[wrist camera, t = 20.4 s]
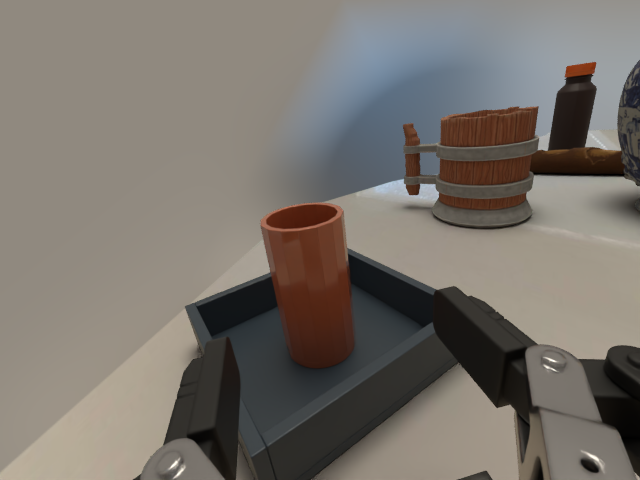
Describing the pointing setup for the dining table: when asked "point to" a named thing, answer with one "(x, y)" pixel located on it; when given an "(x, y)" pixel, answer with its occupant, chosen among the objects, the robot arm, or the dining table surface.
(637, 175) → the decorative vase
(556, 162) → the bread
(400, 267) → the dining table surface
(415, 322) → the tray
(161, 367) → the dining table surface
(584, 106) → the vinegar
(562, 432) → the robot arm
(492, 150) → the mug
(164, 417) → the dining table surface
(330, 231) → the tumbler
